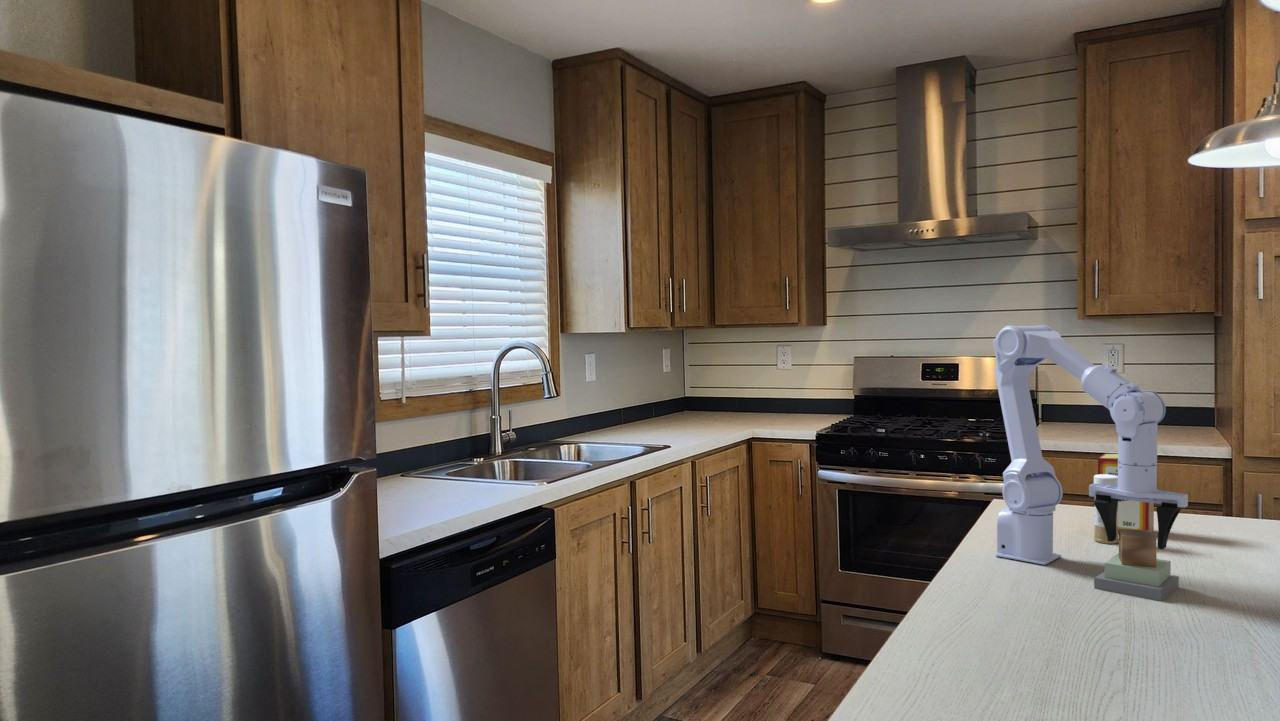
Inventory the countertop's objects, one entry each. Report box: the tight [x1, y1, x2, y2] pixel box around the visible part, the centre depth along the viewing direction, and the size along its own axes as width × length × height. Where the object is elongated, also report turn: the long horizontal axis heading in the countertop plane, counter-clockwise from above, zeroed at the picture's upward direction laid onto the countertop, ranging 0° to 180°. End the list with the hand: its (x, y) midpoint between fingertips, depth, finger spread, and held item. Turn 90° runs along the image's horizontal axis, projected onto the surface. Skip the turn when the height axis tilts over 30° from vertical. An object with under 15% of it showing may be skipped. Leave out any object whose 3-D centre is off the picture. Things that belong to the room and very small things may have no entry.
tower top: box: [1104, 552, 1172, 587], centre depth 149 cm, size 8×8×2 cm
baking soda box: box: [1097, 453, 1155, 535], centre depth 188 cm, size 10×6×16 cm
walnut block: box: [1118, 529, 1158, 568], centre depth 149 cm, size 5×5×5 cm
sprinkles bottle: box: [1093, 473, 1119, 545], centre depth 179 cm, size 5×5×13 cm
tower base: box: [1093, 571, 1180, 602], centre depth 149 cm, size 10×10×2 cm
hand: (1136, 543), depth 149 cm, fingers open, 7 cm apart
